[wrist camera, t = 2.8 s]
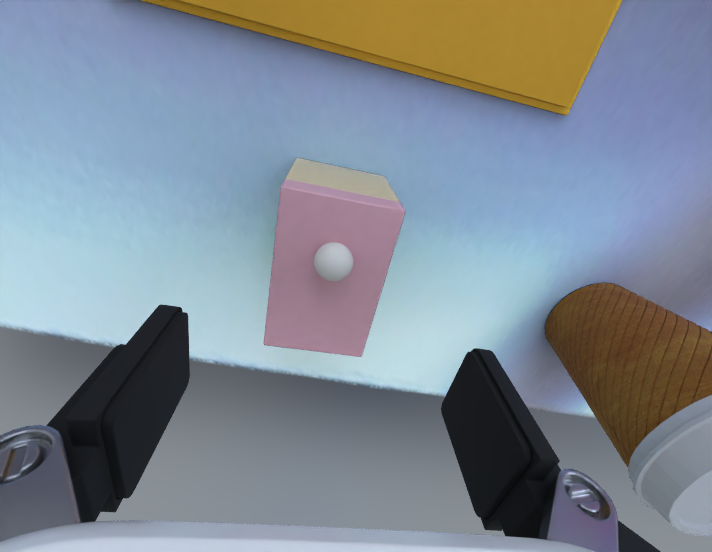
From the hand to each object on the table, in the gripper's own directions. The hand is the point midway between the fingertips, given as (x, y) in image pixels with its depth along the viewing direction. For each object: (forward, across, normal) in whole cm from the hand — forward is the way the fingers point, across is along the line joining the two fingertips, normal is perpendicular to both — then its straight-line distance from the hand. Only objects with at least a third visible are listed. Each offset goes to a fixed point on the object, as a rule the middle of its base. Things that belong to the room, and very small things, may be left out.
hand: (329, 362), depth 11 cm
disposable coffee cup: (+11, -20, +2) cm, 23 cm away
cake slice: (+10, 0, 0) cm, 10 cm away
